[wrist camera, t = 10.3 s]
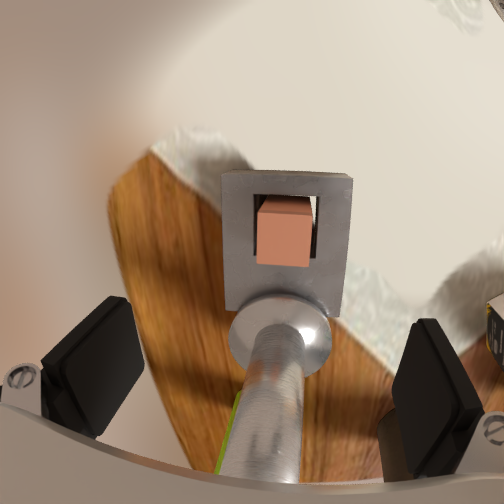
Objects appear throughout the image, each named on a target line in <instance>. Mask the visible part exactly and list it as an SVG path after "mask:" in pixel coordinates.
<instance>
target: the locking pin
mask: <svg viewBox="0 0 504 504" xmlns="http://www.w3.org/2000/svg"><path fill="white" fill-rule="evenodd" d="M312 219H313V215H312V208H311V202H310V197H308V196H292V195H273V194H269V195H268V197H267V198H266V200H265V201H264V203H263V205H262V206H261V208H260V210H259V211H258V221H257V264H269V265H284V266H298V267H309V258H310V246H311V233H312Z"/></svg>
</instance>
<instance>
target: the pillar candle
mask: <svg viewBox="0 0 504 504" xmlns="http://www.w3.org/2000/svg"><path fill="white" fill-rule="evenodd" d="M377 435H378V441H379V448H380V455H381V462H382V470H383V477H384V483H387V482H398V481H407V480H414V477H413V474H410V473H409V472H408V469H407V463H406V458H405V452H404V447H403V442H402V437H401V432H400V427H399V423H398V418H397V414H396V409H394V410H392V411H390V412H389V413H388V414H387V415H386V416H385V417H384V418H383V419H382V420H381V421H380V423H379V424H378V427H377Z"/></svg>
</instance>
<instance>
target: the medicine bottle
mask: <svg viewBox="0 0 504 504" xmlns="http://www.w3.org/2000/svg"><path fill="white" fill-rule="evenodd" d="M486 311H487V336H486V346H487V348H488V350H489V351H490V353H491V354H492V355H493V357H494V358H495V360H496V361H497V363H498V364H499V366H500V367H501V369H502V370H503V372H504V293H503V294H501V295H499V296H497V297H495V298H493V299H491V300H489V301H488V302H487V303H486Z"/></svg>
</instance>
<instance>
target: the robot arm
mask: <svg viewBox="0 0 504 504" xmlns="http://www.w3.org/2000/svg"><path fill="white" fill-rule="evenodd" d="M490 2H491V4H492V5H493V7H494V9H495V10H496V12H497V13H498V15H499V16H500V17H501V19H502V20H503V21H504V0H490ZM41 363H42V365H43V367H44V368H43V369H42V370H41V371H40V369H39V367H38V366H36V365H35V364H32V363H22V364H19V365H16V366H15V367H13V368H11V369H10V370H9V371H8V372H7V373H6V375H5V377H4V380H3V385H2V386H0V504H504V412H500V411H491V412H488V413H486V414H485V412H484V410H483V408H482V407H483V405H482V403H481V401H480V399H479V397H478V395H477V393H476V391H475V389H474V387H473V385H472V383H471V381H470V379H469V377H468V375H467V373H466V371H465V369H464V367H463V365H462V363H461V362H460V360H459V358H458V356H457V354H456V352H455V351H454V349H453V347H452V345H451V343H450V342H449V340H448V338H447V337H446V335H445V333H444V331H443V330H442V328H441V326H440V325H439V323H438V321H437V320H436V319H434V318H420V319H418V321H417V323H413V324H412V326H411V329H410V333H409V336H408V339H407V343H406V346H405V349H404V352H403V355H402V358H401V362H400V365H399V367H398V370H397V373H396V376H395V379H394V382H393V385H392V397H393V401H394V405H395V409H396V414H397V418H398V423H399V427H400V432H401V437H402V442H403V447H404V452H405V458H406V463H407V469H408V472H409V473H410V474H413V477H414V480H407V481H398V482H387V483H372V484H355V485H354V484H353V485H311V484H310V485H309V484H291V483H278V482H267V481H258V480H249V479H242V478H235V477H229V476H223V475H217V474H212V473H206V472H202V471H197V470H192V469H187V468H183V467H179V466H175V465H171V464H167V463H164V462H160V461H156V460H153V459H149V458H146V457H142V456H139V455H136V454H133V453H130V452H127V451H124V450H121V449H118V448H115V447H112V446H109V445H107V444H104V443H102V442H99V441H96V440H95V439H96V437H97V436H100V435H102V434H103V432H104V431H105V429H106V428H107V426H108V424H109V423H110V421H111V420H112V418H113V417H114V415H115V414H116V412H117V410H118V409H119V407H120V406H121V404H122V403H123V401H124V400H125V398H126V397H127V395H128V393H129V392H130V390H131V389H132V387H133V386H134V384H135V383H136V381H137V380H138V378H139V377H140V375H141V374H142V372H143V370H144V364H145V363H144V359H143V355H142V351H141V346H140V342H139V338H138V334H137V329H136V325H135V320H134V316H133V311H132V306H131V304H130V303H129V302H128V301H127V299H126V298H123V297H116V296H109V297H108V298H107V299H106V300H104V301H103V302H102V303H101V304H100V305H99V306H98V307H97V308H96V309H94V310H93V311H92V312H91V313H90V314H89V315H88V316H87V317H86V318H85V319H83V321H82V322H80V323H79V324H78V325H77V326H76V327H75V328H74V329H73V330H72V331H71V332H70V333H69V334H67V335H66V336H65V337H64V338H63V339H62V340H61V341H60V342H59V343H58V344H57V345H56V346H55V347H54V348H53V349H52V350H51V351H50V352H49V353H48V354H47V355H46V356H45V357H44V358H43V359H42V360H41Z"/></svg>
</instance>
